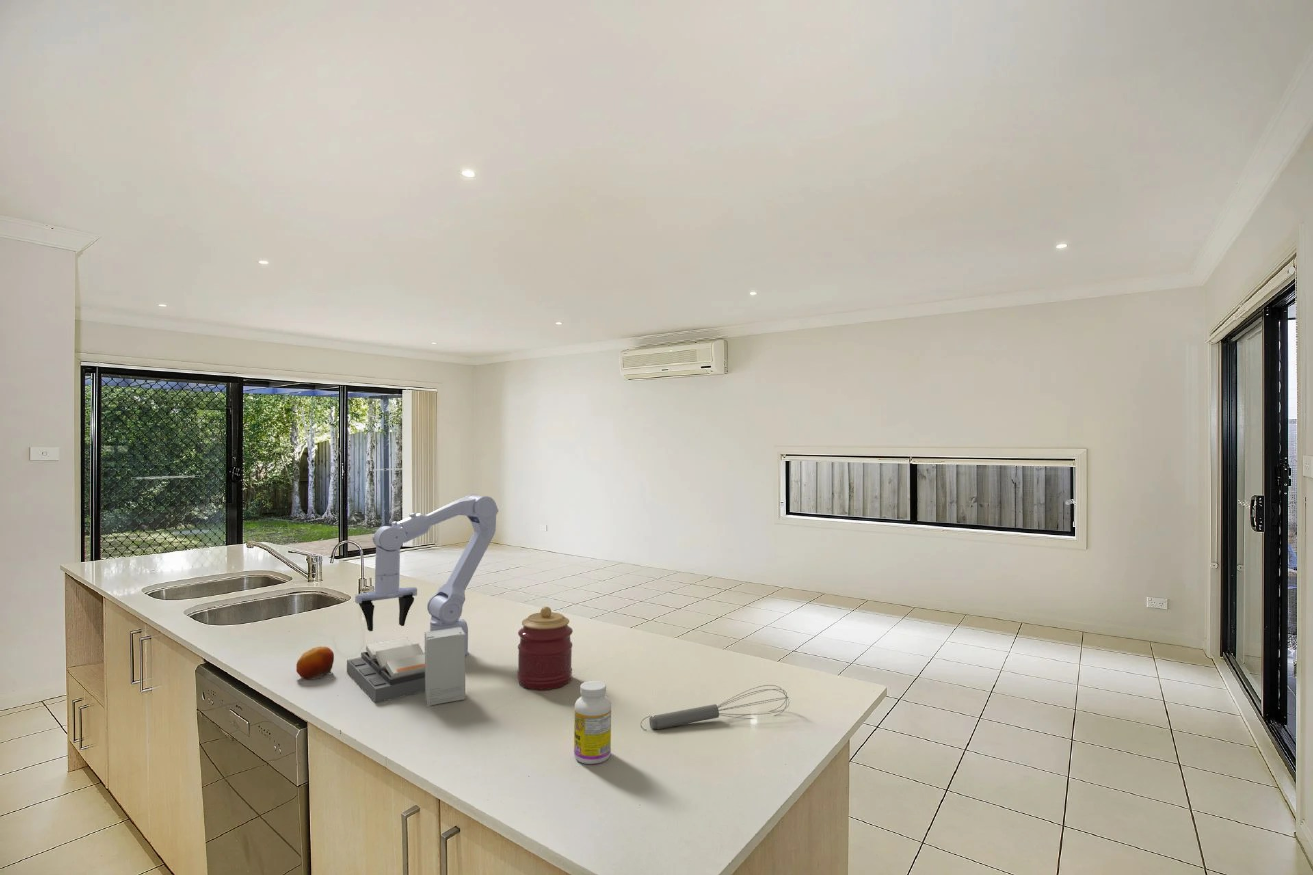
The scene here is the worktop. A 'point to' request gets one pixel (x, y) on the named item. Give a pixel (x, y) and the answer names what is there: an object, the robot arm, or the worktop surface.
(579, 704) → the supplement bottle
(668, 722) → the kitchen whisk
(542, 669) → the canister
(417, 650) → the rocker middle
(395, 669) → the panel
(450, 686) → the skincare box
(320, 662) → the fruit
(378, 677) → the rocker switch panel
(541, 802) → the worktop surface
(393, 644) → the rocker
